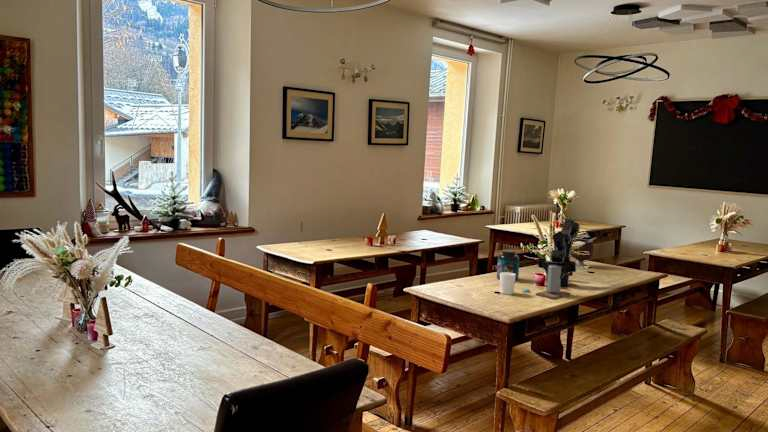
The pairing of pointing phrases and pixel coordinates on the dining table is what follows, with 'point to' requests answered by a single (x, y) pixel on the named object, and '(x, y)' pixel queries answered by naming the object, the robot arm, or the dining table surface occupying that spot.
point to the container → (508, 263)
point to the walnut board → (552, 294)
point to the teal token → (526, 290)
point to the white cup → (507, 283)
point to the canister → (554, 278)
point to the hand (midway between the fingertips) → (553, 278)
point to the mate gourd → (586, 247)
